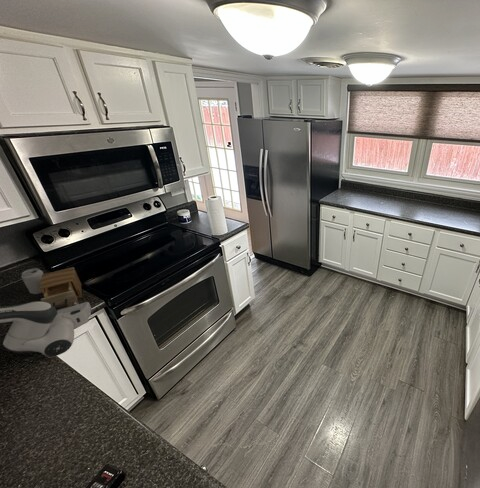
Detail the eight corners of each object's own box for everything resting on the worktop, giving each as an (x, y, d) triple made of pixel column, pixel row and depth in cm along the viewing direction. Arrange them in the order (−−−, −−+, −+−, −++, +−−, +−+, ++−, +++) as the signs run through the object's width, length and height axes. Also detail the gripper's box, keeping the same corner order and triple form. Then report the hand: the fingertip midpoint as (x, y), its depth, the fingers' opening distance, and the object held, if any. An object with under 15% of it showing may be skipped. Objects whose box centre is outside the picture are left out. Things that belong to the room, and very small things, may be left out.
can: (49, 292, 135) (38, 272, 130) (28, 297, 132) (17, 276, 126) (52, 284, 141) (42, 265, 136) (32, 289, 137) (21, 269, 132)
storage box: (81, 297, 133) (73, 279, 128) (49, 306, 126) (39, 287, 121) (81, 284, 143) (73, 267, 138) (51, 292, 136) (42, 274, 131)
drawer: (80, 312, 121) (72, 297, 117) (48, 322, 115) (39, 306, 111) (79, 292, 134) (72, 278, 130) (50, 300, 128) (43, 285, 124)
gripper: (26, 342, 103) (30, 323, 112) (93, 320, 115) (92, 304, 124) (19, 330, 100) (23, 311, 109) (88, 308, 112) (87, 293, 122)
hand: (60, 307), depth 117 cm, fingers open, 8 cm apart
